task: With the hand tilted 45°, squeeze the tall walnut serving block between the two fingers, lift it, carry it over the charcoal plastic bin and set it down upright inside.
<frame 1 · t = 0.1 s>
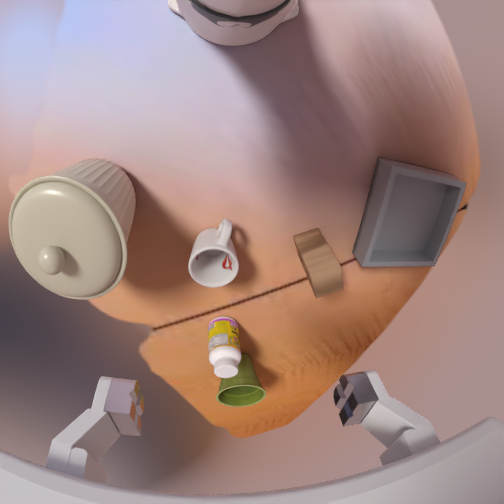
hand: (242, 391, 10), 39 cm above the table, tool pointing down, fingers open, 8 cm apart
bin: (405, 211, 53), on the table
supplement bottle: (223, 324, 64), on the table
canister: (102, 192, 44), on the table
plant pot: (237, 359, 72), on the table
cup: (216, 234, 51), on the table
walnut block: (308, 242, 54), on the table
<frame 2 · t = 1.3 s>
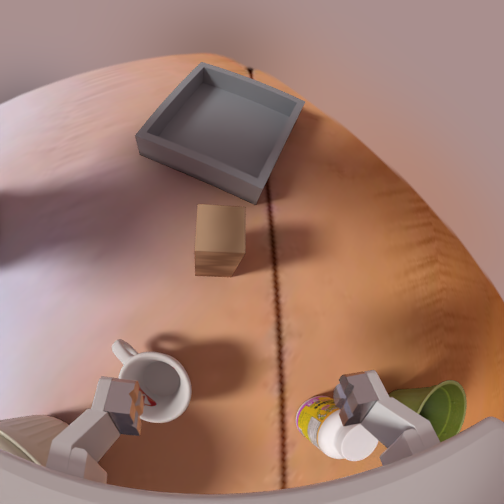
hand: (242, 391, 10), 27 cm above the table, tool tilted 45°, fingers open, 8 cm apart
bin: (223, 132, 45), on the table
supplement bottle: (315, 415, 36), on the table
canister: (63, 452, 27), on the table
plant pot: (394, 409, 38), on the table
cup: (154, 370, 34), on the table
walnut block: (213, 259, 39), on the table
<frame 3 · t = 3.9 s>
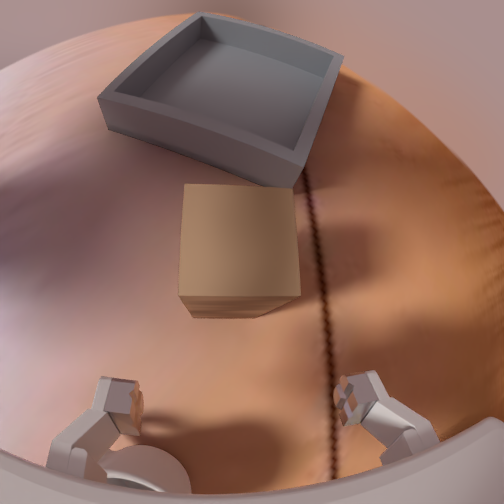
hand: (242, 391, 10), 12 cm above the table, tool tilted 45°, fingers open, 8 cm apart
bin: (231, 95, 30), on the table
cup: (138, 462, 18), on the table
walnut block: (223, 288, 23), on the table
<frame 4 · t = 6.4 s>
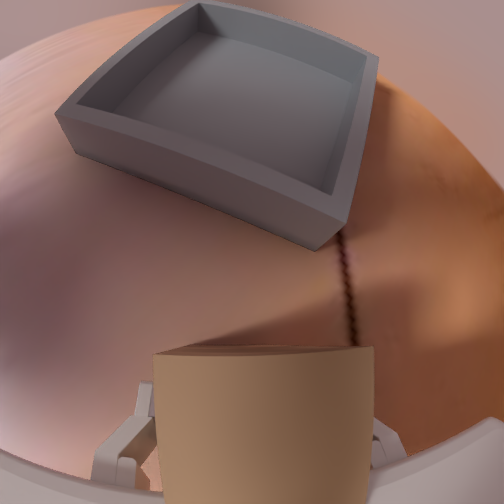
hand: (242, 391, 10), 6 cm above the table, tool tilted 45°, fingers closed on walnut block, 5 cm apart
bin: (237, 103, 23), on the table
walnut block: (230, 383, 16), on the table, touching gripper
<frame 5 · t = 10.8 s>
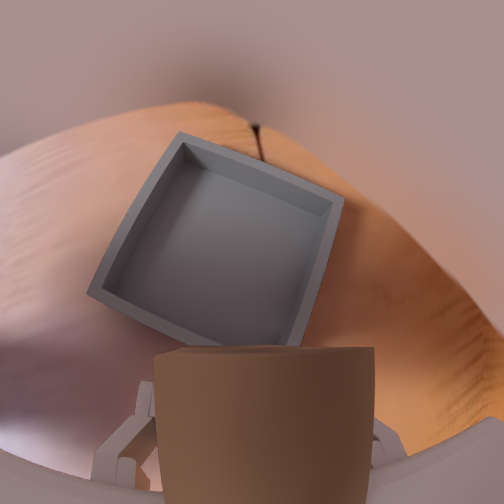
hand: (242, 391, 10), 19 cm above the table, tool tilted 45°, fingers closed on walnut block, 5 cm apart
bin: (221, 256, 32), on the table
walnut block: (230, 383, 16), point 13 cm above the table, touching gripper
when the fingers open (9 cm above the table, at t = 15.2 s): walnut block drops 1 cm, resting on bin.
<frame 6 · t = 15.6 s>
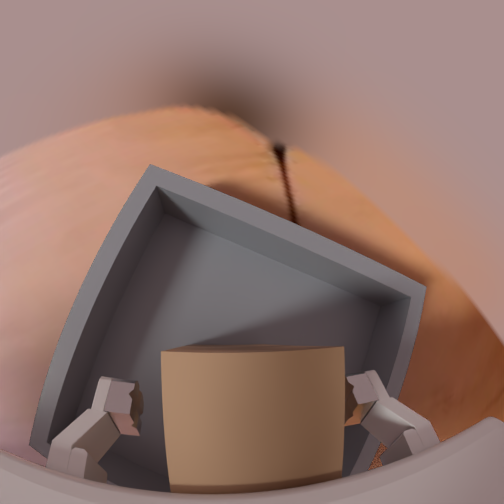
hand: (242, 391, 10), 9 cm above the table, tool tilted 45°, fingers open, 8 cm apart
bin: (228, 378, 19), on the table
walnut block: (228, 380, 18), point 1 cm above the table, touching bin
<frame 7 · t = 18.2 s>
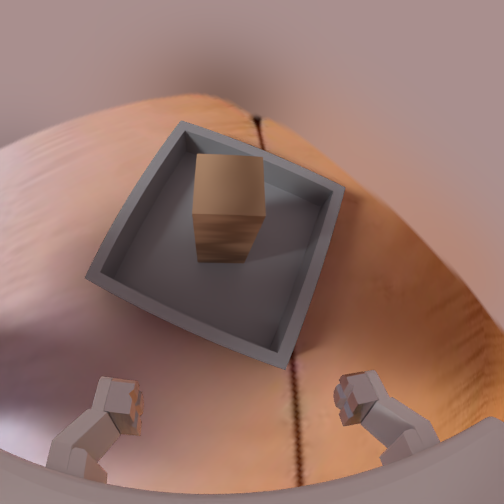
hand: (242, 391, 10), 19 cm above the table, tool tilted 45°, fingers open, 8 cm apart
bin: (221, 243, 32), on the table
walnut block: (221, 240, 31), point 1 cm above the table, touching bin
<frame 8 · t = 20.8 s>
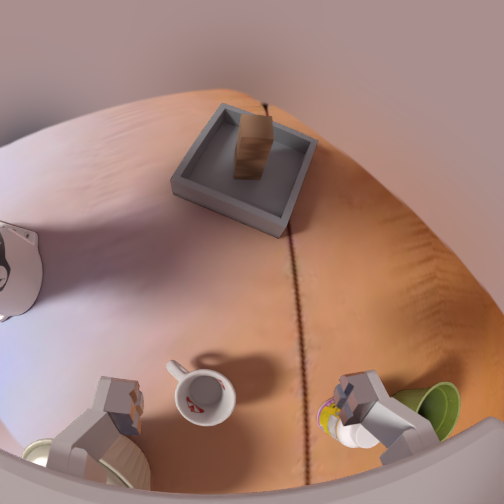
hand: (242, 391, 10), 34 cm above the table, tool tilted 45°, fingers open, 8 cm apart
bin: (246, 171, 53), on the table
supplement bottle: (333, 414, 42), on the table
canister: (114, 459, 35), on the table
plant pot: (400, 407, 44), on the table
cup: (198, 382, 41), on the table
walnut block: (246, 168, 52), point 1 cm above the table, touching bin
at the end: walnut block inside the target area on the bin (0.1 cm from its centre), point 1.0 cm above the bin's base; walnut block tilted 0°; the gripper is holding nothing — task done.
